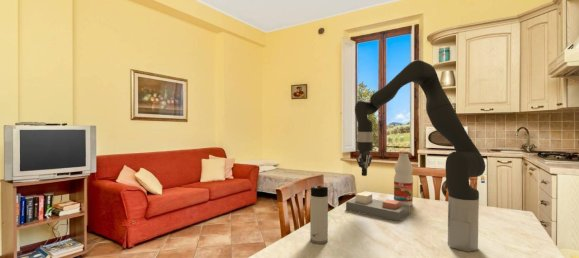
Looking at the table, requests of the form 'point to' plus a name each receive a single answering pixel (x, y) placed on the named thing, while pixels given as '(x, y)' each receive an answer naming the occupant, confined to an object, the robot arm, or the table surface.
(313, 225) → the travel mug
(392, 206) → the brick-red key
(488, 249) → the table surface
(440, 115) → the robot arm
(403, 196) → the fruit juice
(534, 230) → the table surface
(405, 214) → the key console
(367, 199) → the off-white key
